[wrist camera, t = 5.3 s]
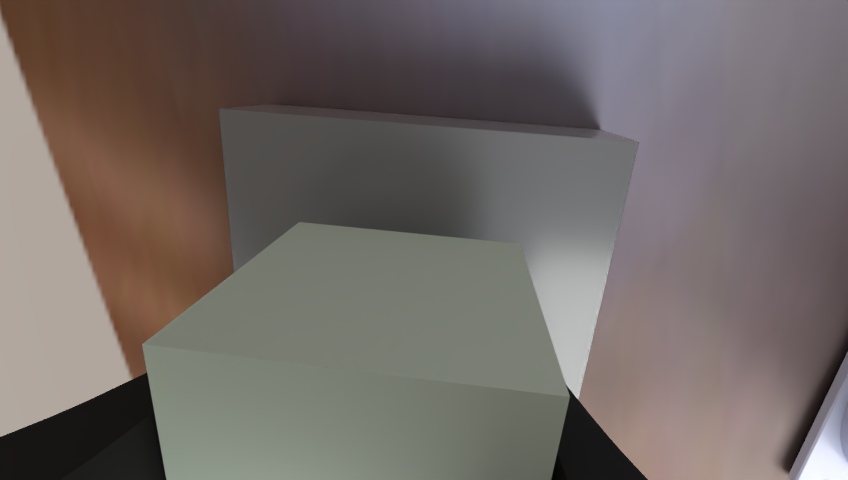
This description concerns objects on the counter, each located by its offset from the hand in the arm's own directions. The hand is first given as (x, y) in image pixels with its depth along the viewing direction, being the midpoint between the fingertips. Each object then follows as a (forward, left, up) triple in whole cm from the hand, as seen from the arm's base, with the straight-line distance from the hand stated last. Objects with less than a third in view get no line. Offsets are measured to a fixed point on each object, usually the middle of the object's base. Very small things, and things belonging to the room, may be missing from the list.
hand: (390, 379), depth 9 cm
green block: (0, 0, -2) cm, 2 cm away
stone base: (0, 0, -6) cm, 6 cm away
